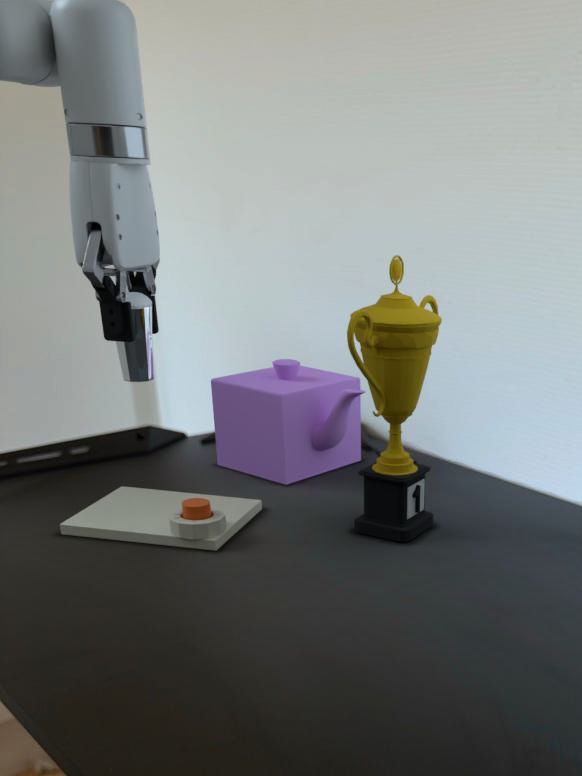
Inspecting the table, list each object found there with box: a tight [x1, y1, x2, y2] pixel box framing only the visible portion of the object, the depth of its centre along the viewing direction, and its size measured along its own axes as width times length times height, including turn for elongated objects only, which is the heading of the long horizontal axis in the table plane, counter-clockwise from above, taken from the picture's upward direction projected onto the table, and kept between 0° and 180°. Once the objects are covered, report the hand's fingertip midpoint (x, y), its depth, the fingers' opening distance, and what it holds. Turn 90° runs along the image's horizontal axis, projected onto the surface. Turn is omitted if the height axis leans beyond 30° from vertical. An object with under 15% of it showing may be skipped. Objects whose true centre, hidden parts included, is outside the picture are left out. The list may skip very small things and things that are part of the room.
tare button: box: [182, 498, 211, 520], centre depth 101 cm, size 3×3×2 cm
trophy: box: [346, 254, 443, 543], centre depth 102 cm, size 19×10×30 cm, turn 155°
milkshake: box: [115, 291, 155, 383], centre depth 100 cm, size 5×5×10 cm
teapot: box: [210, 358, 366, 486], centre depth 127 cm, size 15×25×14 cm, turn 56°
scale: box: [59, 485, 263, 552], centre depth 107 cm, size 18×14×3 cm
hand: (132, 334), depth 100 cm, fingers closed on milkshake, 4 cm apart
